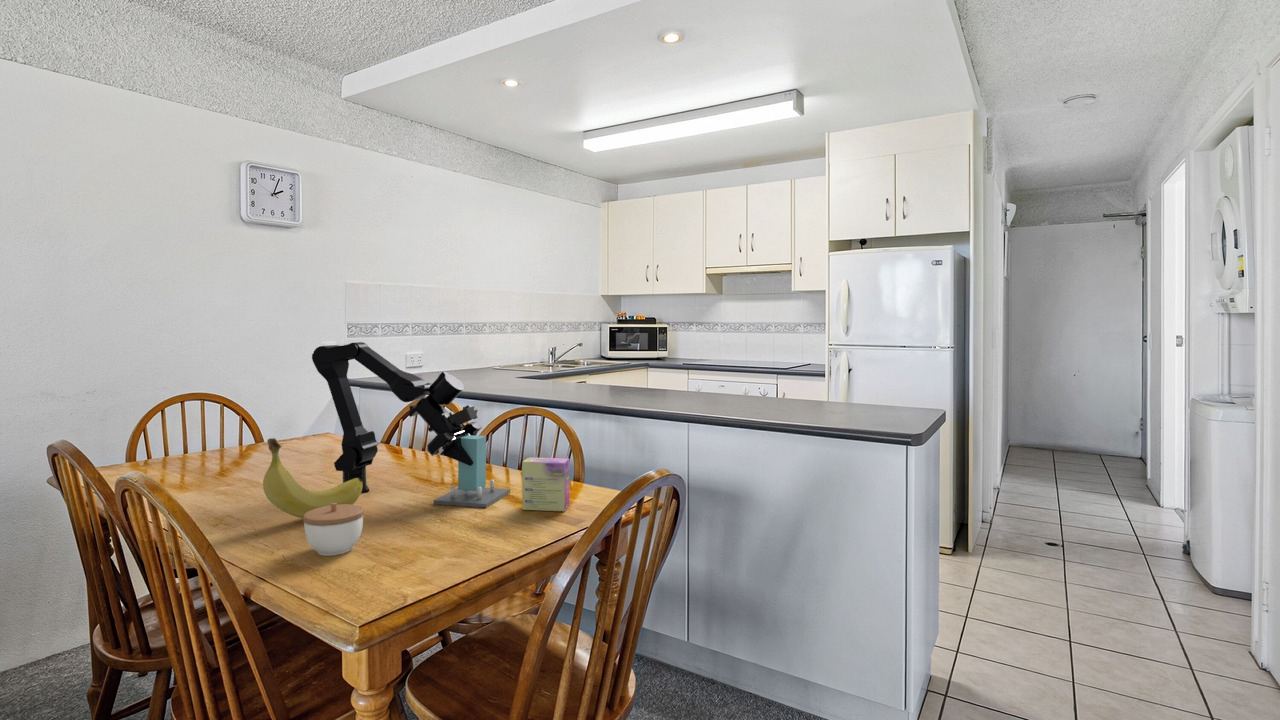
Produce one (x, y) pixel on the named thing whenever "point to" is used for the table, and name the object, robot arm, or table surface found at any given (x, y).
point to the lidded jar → (333, 528)
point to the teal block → (477, 472)
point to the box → (545, 484)
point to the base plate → (472, 496)
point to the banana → (302, 489)
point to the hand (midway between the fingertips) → (477, 462)
